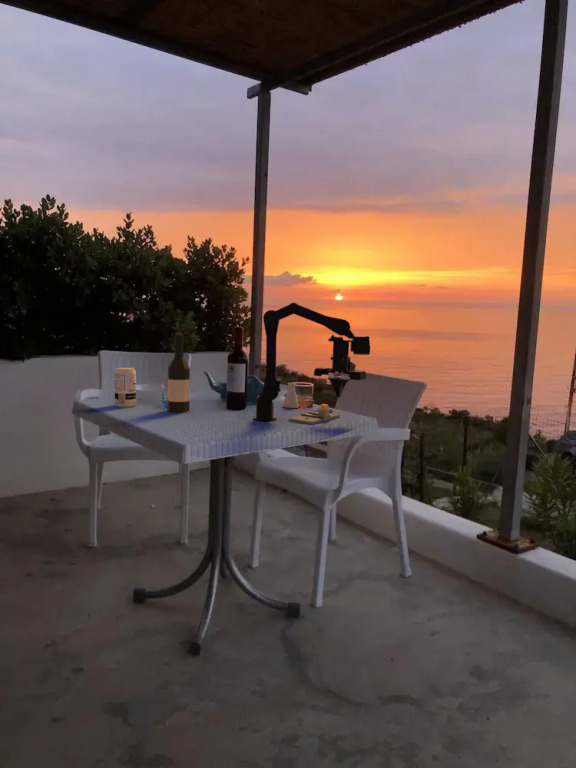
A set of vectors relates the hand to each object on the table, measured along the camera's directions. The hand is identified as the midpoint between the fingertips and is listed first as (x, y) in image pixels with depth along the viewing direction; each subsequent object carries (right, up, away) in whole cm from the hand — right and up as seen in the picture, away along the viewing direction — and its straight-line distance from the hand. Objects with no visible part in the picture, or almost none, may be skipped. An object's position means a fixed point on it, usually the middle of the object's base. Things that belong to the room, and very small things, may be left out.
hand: (338, 397), depth 215 cm
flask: (-17, -5, +31) cm, 35 cm away
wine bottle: (-61, -6, +14) cm, 62 cm away
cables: (-5, -7, +19) cm, 20 cm away
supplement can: (-83, -4, +21) cm, 86 cm away
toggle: (-5, -7, +4) cm, 10 cm away
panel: (-8, -8, +6) cm, 13 cm away
